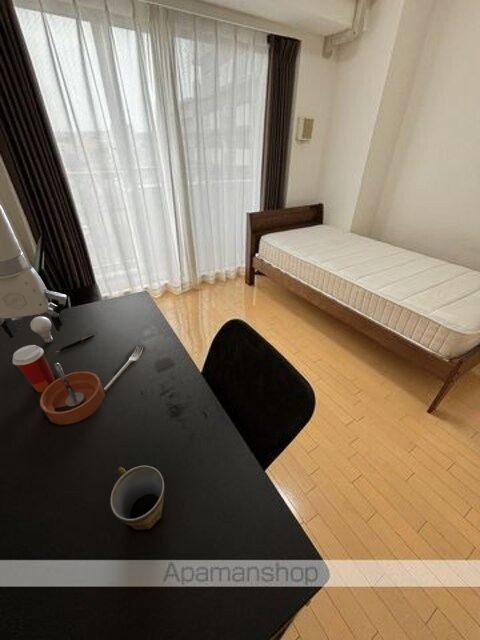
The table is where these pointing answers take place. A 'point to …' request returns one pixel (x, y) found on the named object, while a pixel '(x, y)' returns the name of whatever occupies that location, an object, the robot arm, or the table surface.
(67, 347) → the fountain pen
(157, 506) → the ceramic cup
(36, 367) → the paper cup
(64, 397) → the bowl
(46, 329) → the lightbulb
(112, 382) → the fork
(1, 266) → the robot arm
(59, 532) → the table surface
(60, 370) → the grey disc on stem
